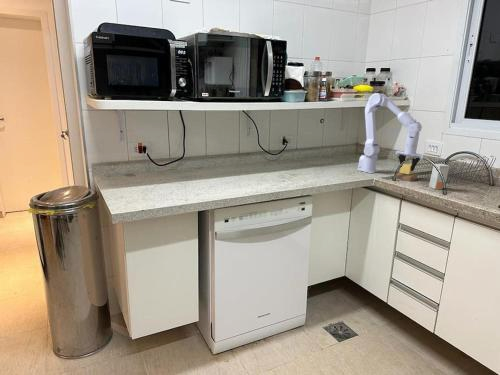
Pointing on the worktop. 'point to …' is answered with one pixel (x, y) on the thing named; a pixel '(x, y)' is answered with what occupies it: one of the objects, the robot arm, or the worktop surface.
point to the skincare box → (438, 176)
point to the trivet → (406, 176)
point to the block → (406, 168)
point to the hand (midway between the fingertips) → (406, 169)
